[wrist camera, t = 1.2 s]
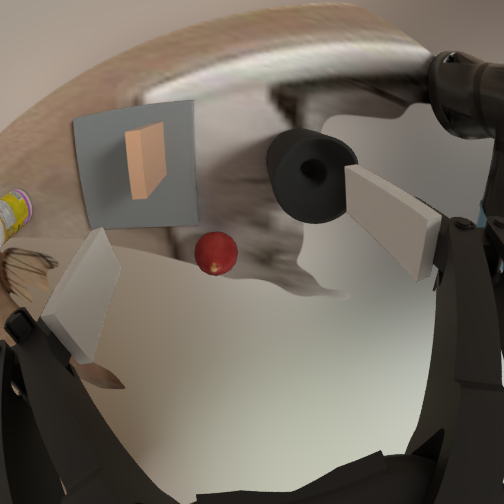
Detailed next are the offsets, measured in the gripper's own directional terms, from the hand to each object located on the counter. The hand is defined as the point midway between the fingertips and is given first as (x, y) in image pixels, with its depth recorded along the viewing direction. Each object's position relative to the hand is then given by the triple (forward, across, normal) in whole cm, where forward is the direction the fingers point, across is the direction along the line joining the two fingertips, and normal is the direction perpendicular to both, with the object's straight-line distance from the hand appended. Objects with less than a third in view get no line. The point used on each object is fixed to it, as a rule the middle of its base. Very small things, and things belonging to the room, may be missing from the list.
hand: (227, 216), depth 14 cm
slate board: (+24, +11, 0) cm, 27 cm away
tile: (+23, +7, -1) cm, 24 cm away
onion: (+23, +3, +14) cm, 27 cm away
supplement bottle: (+27, +35, -1) cm, 44 cm away
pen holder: (+22, -11, +4) cm, 25 cm away
